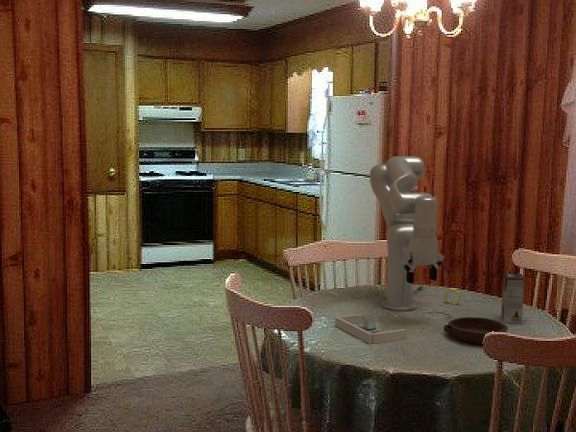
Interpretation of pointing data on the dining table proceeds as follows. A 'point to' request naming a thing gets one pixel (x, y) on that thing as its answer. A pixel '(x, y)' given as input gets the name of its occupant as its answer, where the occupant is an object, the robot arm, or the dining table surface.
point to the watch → (455, 291)
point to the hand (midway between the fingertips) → (421, 281)
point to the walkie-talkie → (416, 289)
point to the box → (371, 338)
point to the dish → (473, 328)
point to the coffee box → (512, 298)
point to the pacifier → (368, 324)
